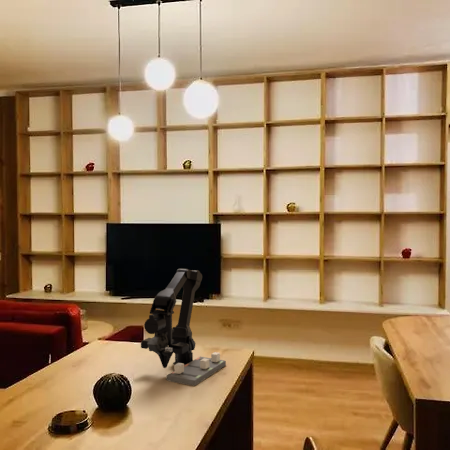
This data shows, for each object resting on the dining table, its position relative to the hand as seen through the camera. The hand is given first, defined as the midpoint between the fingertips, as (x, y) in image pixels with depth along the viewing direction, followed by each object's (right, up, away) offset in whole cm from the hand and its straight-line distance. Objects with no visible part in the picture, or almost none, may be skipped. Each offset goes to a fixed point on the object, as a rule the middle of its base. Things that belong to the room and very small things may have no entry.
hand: (164, 367), depth 187 cm
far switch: (+19, 0, +11) cm, 22 cm away
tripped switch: (+6, -1, -3) cm, 6 cm away
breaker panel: (+12, -3, +3) cm, 13 cm away
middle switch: (+15, -1, +2) cm, 15 cm away
